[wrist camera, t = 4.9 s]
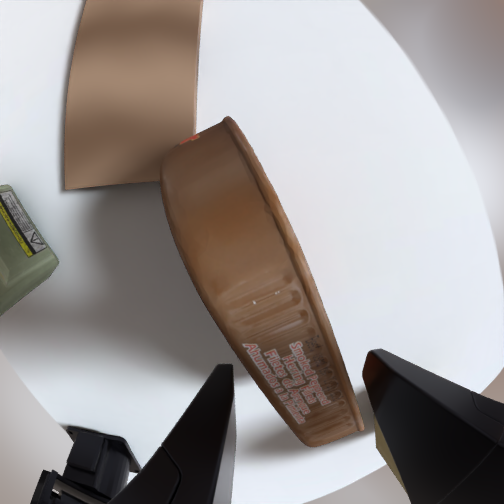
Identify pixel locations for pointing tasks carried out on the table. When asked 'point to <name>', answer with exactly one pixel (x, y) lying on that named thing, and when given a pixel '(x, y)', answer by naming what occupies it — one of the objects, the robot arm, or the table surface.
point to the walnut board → (130, 89)
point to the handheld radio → (20, 252)
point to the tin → (257, 280)
